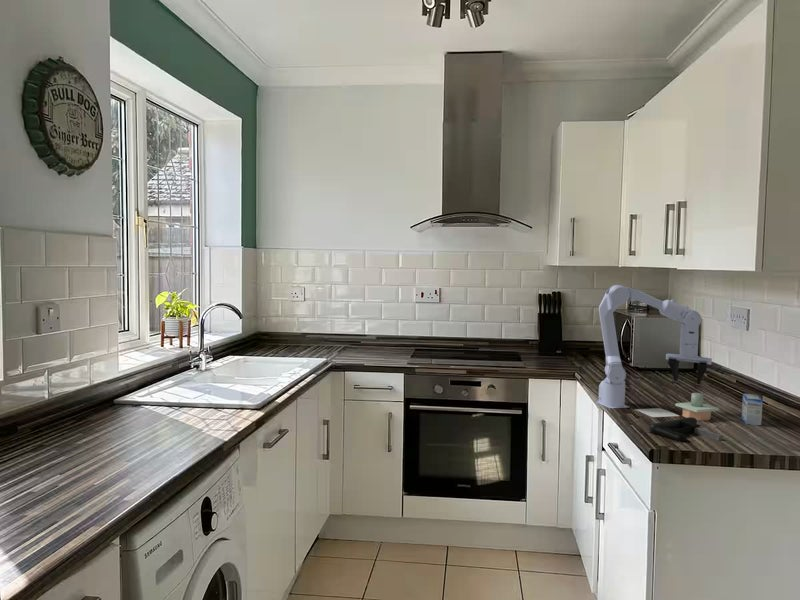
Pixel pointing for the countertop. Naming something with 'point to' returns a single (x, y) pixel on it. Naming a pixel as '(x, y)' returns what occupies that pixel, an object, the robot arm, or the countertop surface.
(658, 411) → the mat
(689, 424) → the black dustpan
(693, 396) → the lid
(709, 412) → the bowl
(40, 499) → the countertop surface
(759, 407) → the medicine box
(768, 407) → the countertop surface
